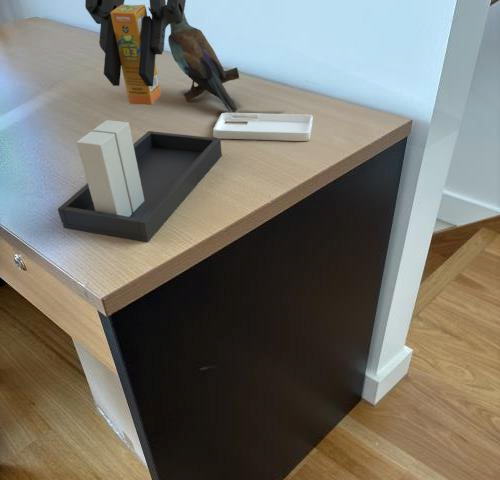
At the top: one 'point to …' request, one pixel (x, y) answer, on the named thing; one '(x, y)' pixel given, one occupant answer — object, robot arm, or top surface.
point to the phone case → (265, 127)
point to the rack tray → (149, 186)
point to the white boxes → (111, 168)
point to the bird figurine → (200, 63)
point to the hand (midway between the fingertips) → (128, 79)
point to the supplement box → (133, 53)
